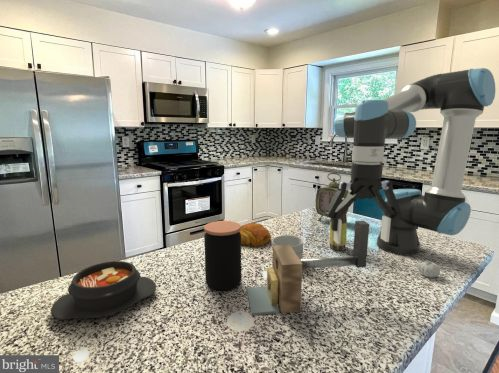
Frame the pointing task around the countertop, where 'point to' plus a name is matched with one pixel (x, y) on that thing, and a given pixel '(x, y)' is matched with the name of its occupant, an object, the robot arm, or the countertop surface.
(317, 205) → the tabletop clock
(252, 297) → the slate mat
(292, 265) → the bearing block
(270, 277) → the plate
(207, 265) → the coffee jar
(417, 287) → the countertop surface
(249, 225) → the croissant
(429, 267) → the garlic
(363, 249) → the shaft
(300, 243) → the teacup
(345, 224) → the sauce bottle
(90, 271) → the casserole
